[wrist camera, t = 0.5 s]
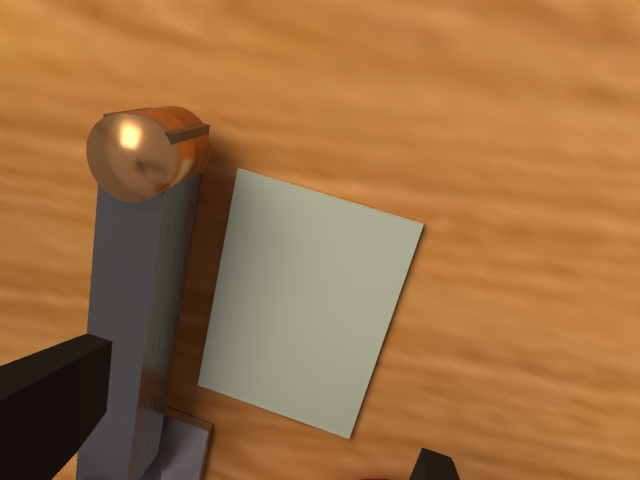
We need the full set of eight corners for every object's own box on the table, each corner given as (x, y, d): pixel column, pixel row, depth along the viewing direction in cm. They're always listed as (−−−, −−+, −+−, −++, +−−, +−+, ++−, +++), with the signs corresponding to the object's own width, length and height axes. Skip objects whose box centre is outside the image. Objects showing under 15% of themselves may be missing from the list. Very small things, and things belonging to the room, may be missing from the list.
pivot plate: (194, 515, 25) (186, 530, 24) (87, 473, 25) (75, 487, 24) (213, 424, 22) (204, 437, 22) (95, 381, 23) (82, 392, 22)
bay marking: (349, 436, 21) (349, 439, 21) (199, 382, 22) (197, 385, 22) (423, 223, 17) (423, 225, 17) (239, 167, 18) (237, 169, 18)
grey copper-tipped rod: (157, 499, 23) (115, 566, 20) (104, 478, 23) (54, 541, 20) (220, 118, 16) (171, 129, 13) (144, 96, 17) (79, 102, 14)
